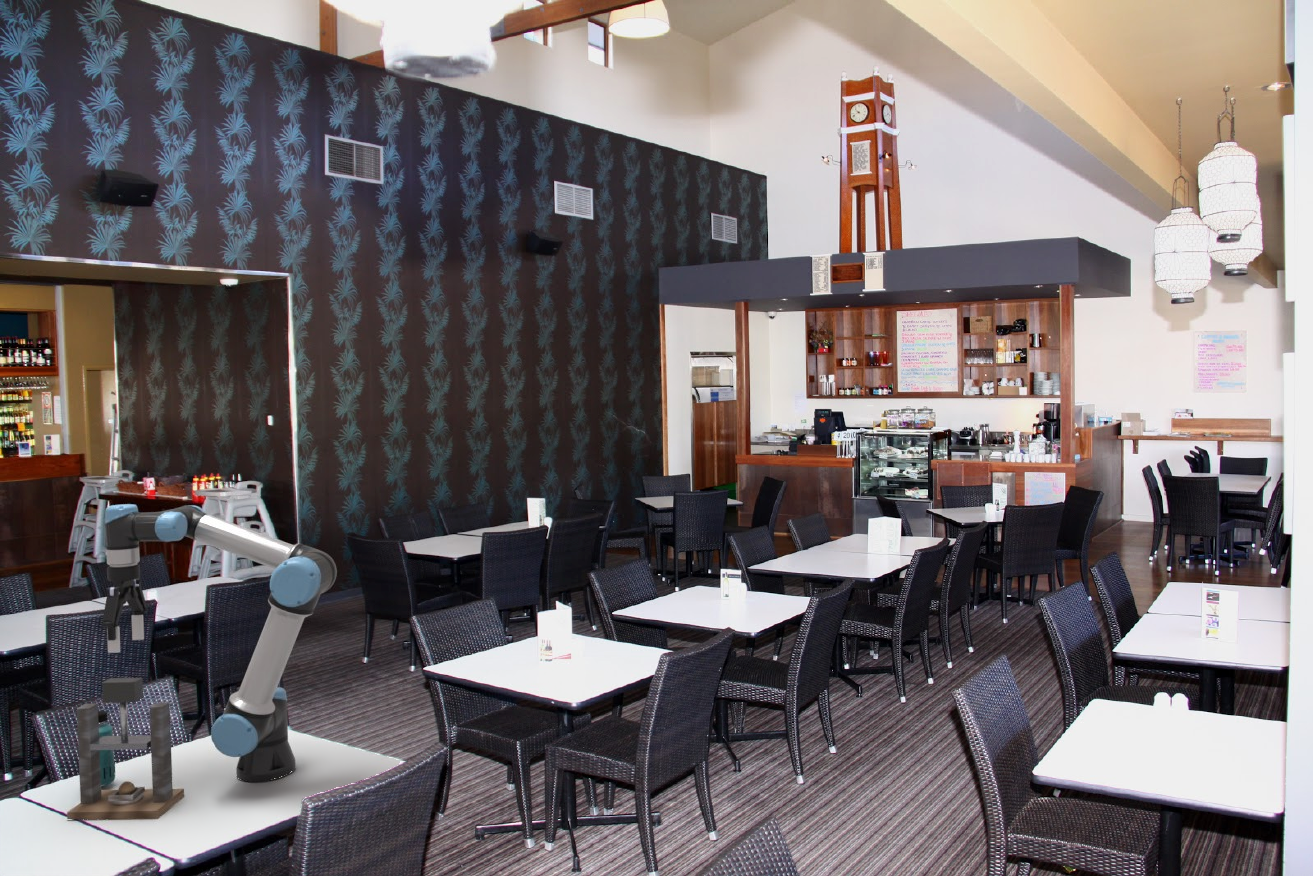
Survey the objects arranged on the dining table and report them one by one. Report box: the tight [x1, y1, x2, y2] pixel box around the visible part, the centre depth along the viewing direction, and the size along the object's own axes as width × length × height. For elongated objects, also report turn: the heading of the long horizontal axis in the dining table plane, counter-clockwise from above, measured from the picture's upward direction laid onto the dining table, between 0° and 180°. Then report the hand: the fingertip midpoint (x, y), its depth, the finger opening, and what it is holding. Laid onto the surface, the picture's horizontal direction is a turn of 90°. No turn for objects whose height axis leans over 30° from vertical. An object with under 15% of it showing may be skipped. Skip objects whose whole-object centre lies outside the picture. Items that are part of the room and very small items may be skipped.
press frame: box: [66, 701, 185, 821], centre depth 253 cm, size 22×14×26 cm, turn 90°
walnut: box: [118, 781, 136, 795], centre depth 254 cm, size 4×4×4 cm
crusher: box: [90, 677, 151, 751], centre depth 253 cm, size 14×6×16 cm, turn 90°
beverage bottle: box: [98, 711, 116, 787], centre depth 267 cm, size 6×7×20 cm
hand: (126, 646), depth 263 cm, fingers open, 13 cm apart
